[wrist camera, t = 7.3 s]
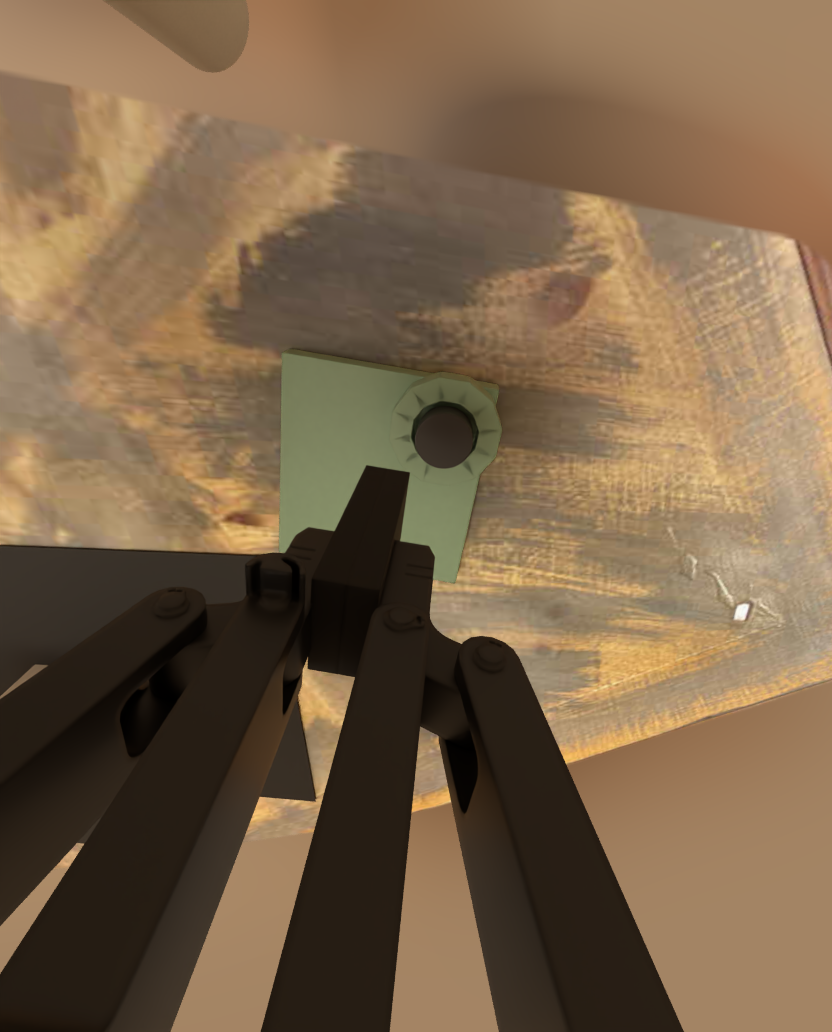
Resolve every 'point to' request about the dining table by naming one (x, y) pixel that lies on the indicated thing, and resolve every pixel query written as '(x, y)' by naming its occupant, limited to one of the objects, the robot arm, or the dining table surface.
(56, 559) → the display pedestal stand
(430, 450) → the button
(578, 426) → the dining table surface
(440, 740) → the robot arm
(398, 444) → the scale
